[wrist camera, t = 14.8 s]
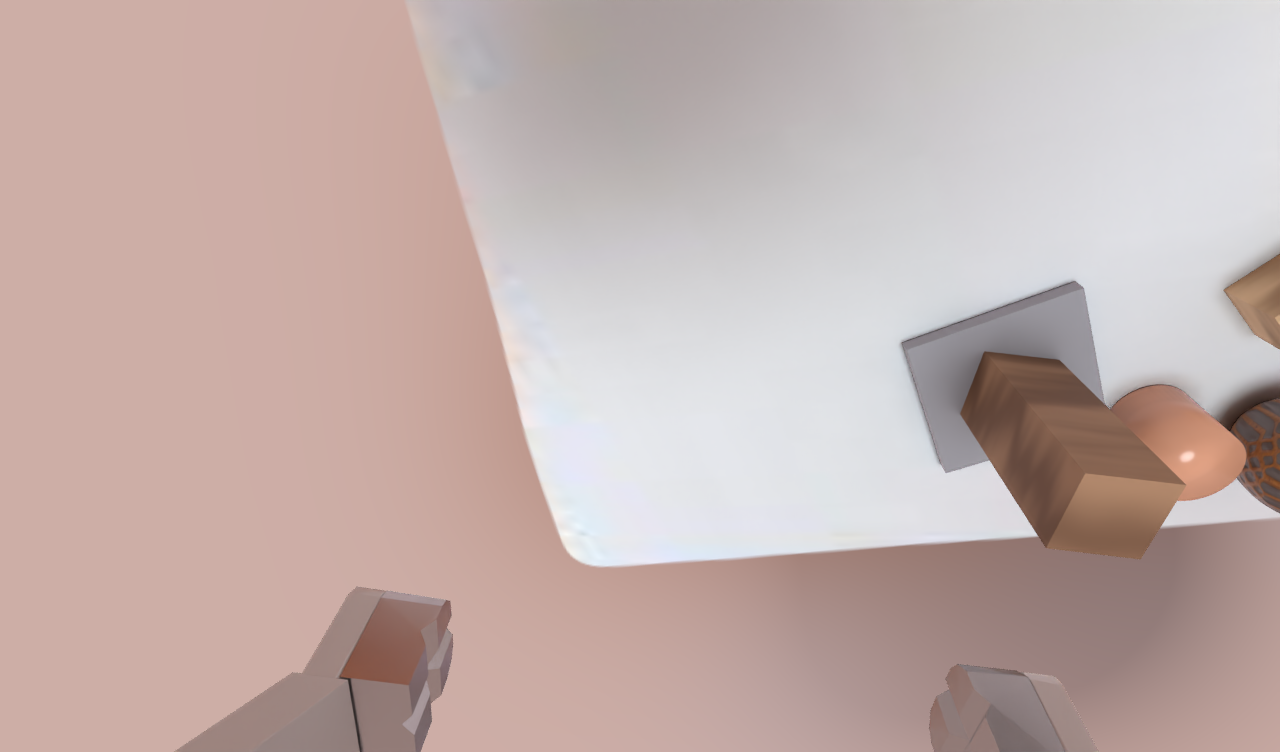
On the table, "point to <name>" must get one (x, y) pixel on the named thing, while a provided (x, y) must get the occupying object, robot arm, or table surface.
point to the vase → (1261, 451)
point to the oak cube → (1260, 300)
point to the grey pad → (1018, 329)
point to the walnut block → (1068, 457)
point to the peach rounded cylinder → (1183, 438)
